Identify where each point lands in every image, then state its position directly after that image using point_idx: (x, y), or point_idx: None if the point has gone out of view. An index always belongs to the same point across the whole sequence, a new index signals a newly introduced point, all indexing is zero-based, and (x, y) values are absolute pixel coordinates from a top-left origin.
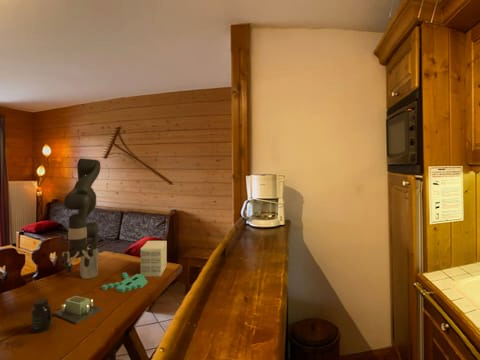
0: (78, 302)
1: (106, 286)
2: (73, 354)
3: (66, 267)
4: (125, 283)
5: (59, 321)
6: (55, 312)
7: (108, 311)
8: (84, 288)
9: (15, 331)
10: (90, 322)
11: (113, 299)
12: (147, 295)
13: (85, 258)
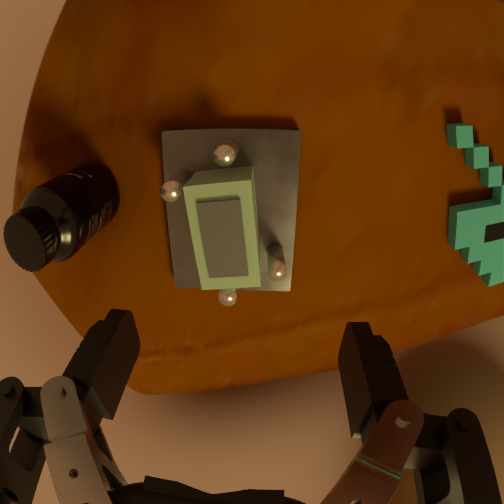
0: (207, 269)
1: (463, 147)
2: None
3: (73, 371)
4: (498, 217)
5: (150, 207)
6: (163, 141)
7: (296, 312)
8: (419, 28)
9: (43, 134)
10: (211, 313)
11: (384, 256)
12: (433, 337)
13: (373, 422)
